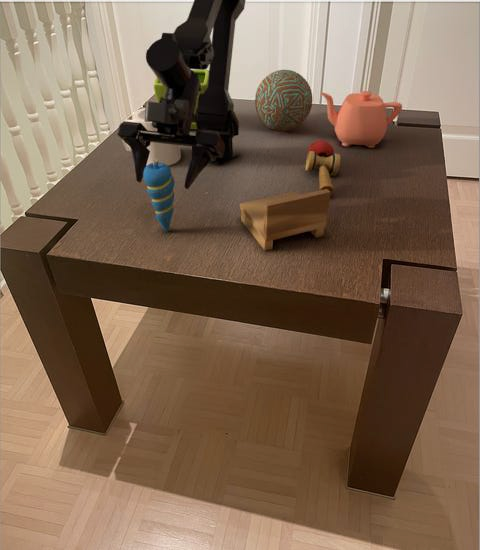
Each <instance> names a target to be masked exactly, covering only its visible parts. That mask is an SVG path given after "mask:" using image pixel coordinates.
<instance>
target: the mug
mask: <svg viewBox="0 0 480 550" xmlns="http://www.w3.org/2000/svg"><path fill="white" fill-rule="evenodd" d="M124 121H127V122H137V123H141V124H142V125H143V126H144V127H145V128H146V129H147V130H148V131H157V128H154V127H153V126H152V125H151V124H152V122H145V107H142V108H140V109H137V110H135V111H134V112H133V113H132V115H131V119H125V120H124ZM121 142H122V145H123V146H124V149H125V150H126V152H132V150H131V147H130V146H129V145H128V144H127V143H125V142H124V140H123V139H121ZM147 148H148V149H149V150H150V154H149V157H148V161H147V165H148V164H150V163H153V159H154V160H158V162H161V163H164V164H166V165H168V166H169V167H170V166H172V165H175V164H176V163H178V162H179V161H180V160H181V158H182V153H181V145H173V144H165V143H156V142H151V144H150V146H148V147H147ZM153 157H154V158H153ZM147 165H146V166H147Z"/></svg>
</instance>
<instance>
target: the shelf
mask: <svg viewBox="0 0 480 550" xmlns="http://www.w3.org/2000/svg"><path fill="white" fill-rule="evenodd" d="M330 198H331V196H330V191H329V190H328V189H324V190H320V191H319V190H316V191H311V192H306V193H303V194H299V193H298V192H297V191H291V192H287V193H282V194H277V195H276V194H275V195H272V196H267V197H263V198H258V199H254V200H249V201H244V202H240V203H239V209H240V217H241V218H240V221H241V222H242V223H243V224H244V225H245V227H246V228H247V229H248V231H249V232H250V234H251V235H252V237H254V239H255V240H256V242H257V243H258V244H259V246H261V248H262V249H263V251H266V252H267V251H269V250H273V246H274V245H273V244H274V241H275V240H279V239H282V238H287V237H290V236H295V235H299V234H302V233H307V232H310V234H311V235H312V236H313V237H314V238H320V237H323V236H324V231H325V228H326V227H327V220H328V213H329V206H330Z"/></svg>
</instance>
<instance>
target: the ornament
mask: <svg viewBox="0 0 480 550" xmlns="http://www.w3.org/2000/svg"><path fill="white" fill-rule="evenodd" d="M153 158H154V157H153ZM142 179H143V180H144V183H145V184H146V186H147V187H146V191H147V194H148V195H149V197H150V199H151V206H152V208H153V209H154V211H155V214H154V215H155V217H156V220H157V222H158V223H159V224H160V226H161V227H162V229H163V230H164V232H169V231H170V228H171V227H170V226H171V221H172V217H173V214H174V204H173V202H174V200H175V191H174V188H175V179H174V176H173V175H172V170H171V167H170V165H169V166H168V165H166V164H164V163H161V162H158V160H154V159H153V163H150V164H148V165H147V166H146V167H145V169H144V173H143V178H142Z"/></svg>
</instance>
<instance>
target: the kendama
mask: <svg viewBox="0 0 480 550" xmlns="http://www.w3.org/2000/svg"><path fill="white" fill-rule="evenodd" d="M307 149H308V150H307V154H306V160H305V161H306V162H305V171H306V172H312V171H313V170H317V169H318V170H319V172H318V184H319V186H318V187H319V189H318V191H320V190H324V189H328V190H329V191H330V197H332V196H333V195H334V193H335V190H334V186H333V183H332V180H331V176H334V177H335V176H337V175H338V172H339V170H340V166H341V154H339V153H334V152H335V151H334V147H333V146H332V144H331V143H330V142H328V141H327V140H323V139H319V140H316V141H314V142H312V143H311V144H310V145H309V147H308V148H307Z"/></svg>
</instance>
